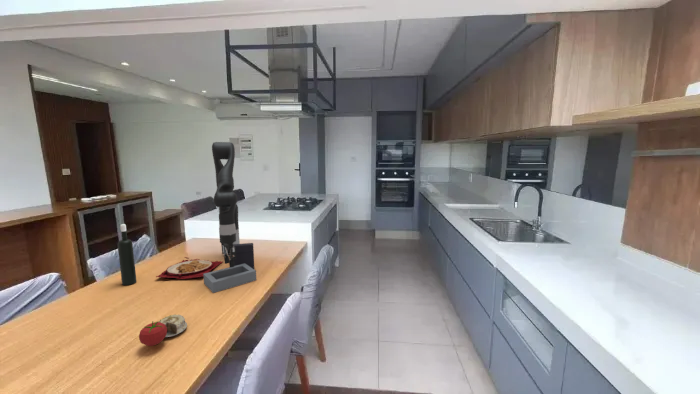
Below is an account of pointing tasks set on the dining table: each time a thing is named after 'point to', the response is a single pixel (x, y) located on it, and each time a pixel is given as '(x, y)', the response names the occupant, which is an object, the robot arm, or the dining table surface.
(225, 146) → the robot arm
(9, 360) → the dining table surface
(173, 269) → the plate with food
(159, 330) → the tomato
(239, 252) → the dark bevelled slab
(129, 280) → the wine bottle
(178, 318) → the cake
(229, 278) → the tray
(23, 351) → the dining table surface
